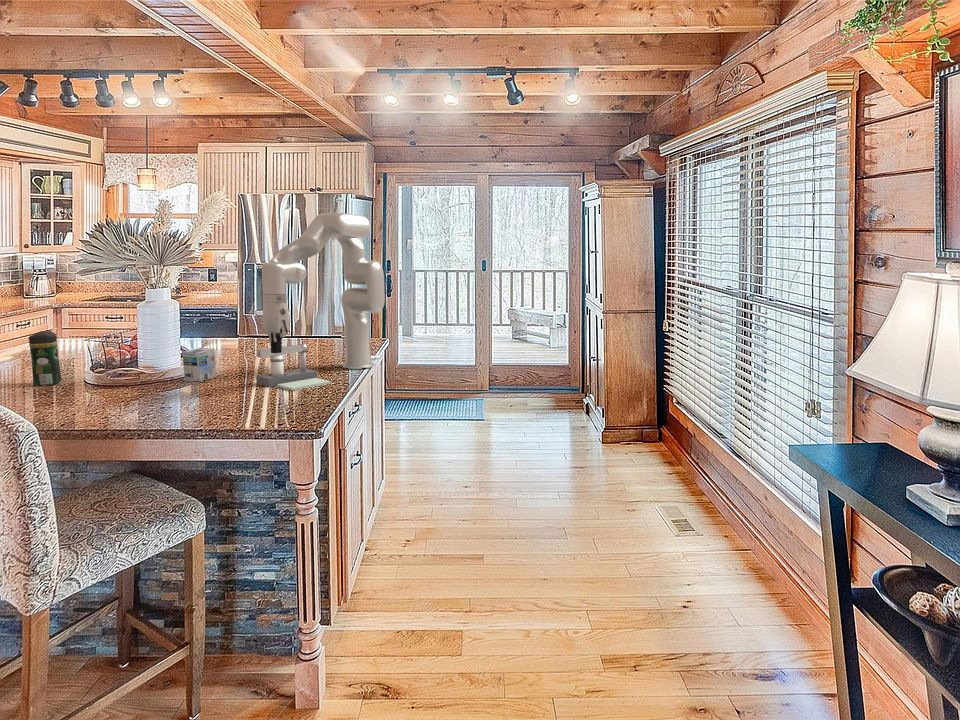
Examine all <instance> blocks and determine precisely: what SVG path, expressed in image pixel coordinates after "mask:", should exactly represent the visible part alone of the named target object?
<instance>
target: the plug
mask: <svg viewBox="0 0 960 720" xmlns="http://www.w3.org/2000/svg"><path fill="white" fill-rule="evenodd" d="M269 358H270V359H269V360H270V361H269V362H270V374H271V376H273V377H278V376H284V370H285V368H284V367H285V366H284V354H281V355H274V356H269Z"/></svg>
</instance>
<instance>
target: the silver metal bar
mask: <svg viewBox="0 0 960 720" xmlns="http://www.w3.org/2000/svg"><path fill="white" fill-rule="evenodd" d="M307 346H308V345H307V344H306V343H299V344H294V345H293V344H292V345H285V346H281V347H282V352H281V353H275V354H274V353H271V347H268V348H261V349H256V354H257V355H256V356H257V357H258V358H265V357H270V356H274V355H288V354H294V353H295V354H296V353H300V352H305V351H306V352H307V351H308V347H307Z"/></svg>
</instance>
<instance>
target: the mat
mask: <svg viewBox="0 0 960 720" xmlns="http://www.w3.org/2000/svg"><path fill="white" fill-rule="evenodd" d="M327 384H328V385H332V380H331V381H330V380H327V379H322V378H318V377H317V378H312V379H306V380H300V381H294V382H288V383H283V384H277V386H276V387H277V388H279V387H280V388H279V389H282V388H283V390H286V389H287V391H290V390H291V391H292V392H294V391H293V390H295V391H299V390H298V389H301V390H304V389H303V388H306V389H310V388H309V387H312V388H315V386H317V387H322V386H321V385H323V386H327Z"/></svg>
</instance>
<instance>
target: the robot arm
mask: <svg viewBox="0 0 960 720" xmlns="http://www.w3.org/2000/svg"><path fill="white" fill-rule="evenodd" d="M371 229H372V228H371V223H370V220H369V219H368V218H367V217H366V216H364V215H359V214H352V213H345V212H322V213H319V214H317V215H316V216H315V217H314V218H313V220H312V221H311V223H309V225H308V226H307V228H306V229H305V230H304V231H303V232H302V234H301V236H300V237H299V238H296V239H294V240H293V241H291V242H289V244H286V245H285V246H283V247H282V248H280V249H279V250H278V251H277V252H275V254H274V255H273V257H272V258H271V259H270V261H269V262H264V263H263V264H262V265H261V285H262V328H263V330H264V332H265V335H267V337H268V339H269V341H270V348H271V353H274V354H275V353H281V352H282V347H283V346H282V342H283V338H285V337H286V336H287V334H286V333H290V331H291V326H290V325H291V324H290V316H289V315H290V313H289V307H288V305H287V295H286V284H295V285H296V284H300V283H302V282H303V281H304V280H305V279H306V278H307V269H306V267H305V265H304V264H302V262H301V263H300V262H299V261H302V260H306V259H309V258H312V257H315V256H316V255H318V254H319V253H320V252H321V251H322V250H323V248H324V246H326V244H327V242H328V241H329V240H330V239H331V238H332V237H333V238H335V239H336V240H337V241H338V243H339V244H340V246H341V250H342V261H343V265H342V266H343V277H344V280H345V282H346V283H347V284H350V285H363V286H366V288H365V287H349V288H347V289H345V290H343V292H342V295H341V299H340V300H341V306H342V311H343V319H344V346H345V347H344V349H345V353H344V354H345V355H344V356H345V362H343V363H341V368H343V369H346V368H348V370H363V369H362V368H366V369H370V368H373V367H374V363H373V361H376V360H379V358H380V355H378V354H374V355H372V354H370V322H369V319H368V317H367V315H366V313H367V314H368V313H369V314H377V313H380V312H381V311H382V310H383V309H384V306H385V303H386V302H385V300H386V299H385V295H386V293H385V275H384V273H385V272H384V269H383V267H382V265H381V263H379V262H378V261H376V260H371V259H370V260H368V259H367V258H366V252H365V251H366V249H365V245H364V243H363V241H362V239H365V238H367V237H368V235H370V232H371Z"/></svg>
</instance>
